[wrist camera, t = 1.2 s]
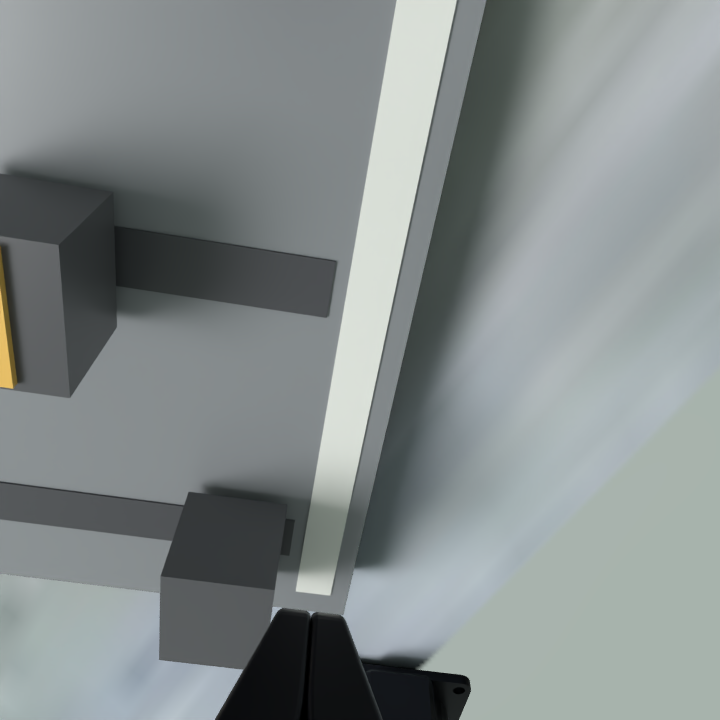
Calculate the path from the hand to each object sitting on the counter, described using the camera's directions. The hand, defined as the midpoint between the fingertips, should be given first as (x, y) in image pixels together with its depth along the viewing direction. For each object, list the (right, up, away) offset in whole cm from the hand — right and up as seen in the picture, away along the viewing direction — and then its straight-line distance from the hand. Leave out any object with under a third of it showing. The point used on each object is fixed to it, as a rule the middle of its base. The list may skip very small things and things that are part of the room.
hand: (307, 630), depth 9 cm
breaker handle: (-7, +6, +8) cm, 12 cm away
